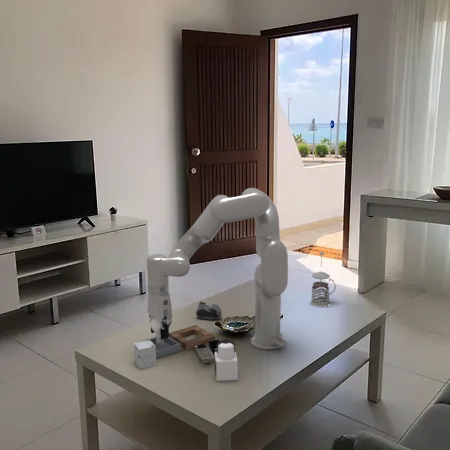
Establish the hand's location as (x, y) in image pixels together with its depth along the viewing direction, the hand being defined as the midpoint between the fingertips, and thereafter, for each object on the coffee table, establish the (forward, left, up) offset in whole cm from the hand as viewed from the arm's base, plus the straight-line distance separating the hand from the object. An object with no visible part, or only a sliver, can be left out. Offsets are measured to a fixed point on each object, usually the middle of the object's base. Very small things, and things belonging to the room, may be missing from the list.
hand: (159, 334), depth 185 cm
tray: (0, 0, -6) cm, 6 cm away
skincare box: (-6, +9, -7) cm, 13 cm away
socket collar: (0, -14, -6) cm, 15 cm away
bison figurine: (+15, -34, -7) cm, 38 cm away
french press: (-5, -84, -7) cm, 84 cm away
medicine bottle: (-30, -8, -7) cm, 32 cm away
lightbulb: (0, 0, -4) cm, 4 cm away
